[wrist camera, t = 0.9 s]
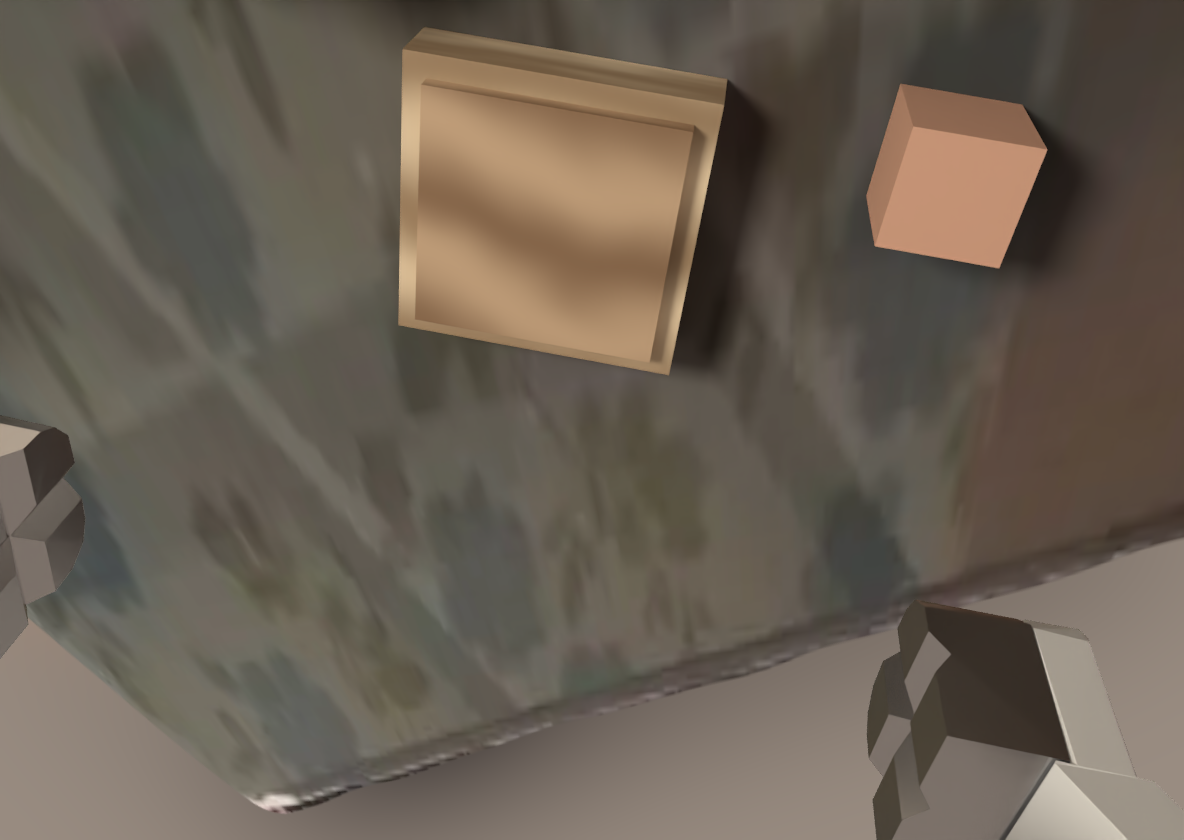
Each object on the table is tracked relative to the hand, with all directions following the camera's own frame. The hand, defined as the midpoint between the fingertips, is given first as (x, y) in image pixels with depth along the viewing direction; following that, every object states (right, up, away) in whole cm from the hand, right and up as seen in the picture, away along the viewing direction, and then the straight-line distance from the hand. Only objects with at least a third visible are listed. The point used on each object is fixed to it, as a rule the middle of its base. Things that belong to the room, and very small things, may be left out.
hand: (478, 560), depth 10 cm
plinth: (0, +12, +38) cm, 39 cm away
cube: (+16, +13, +34) cm, 40 cm away
